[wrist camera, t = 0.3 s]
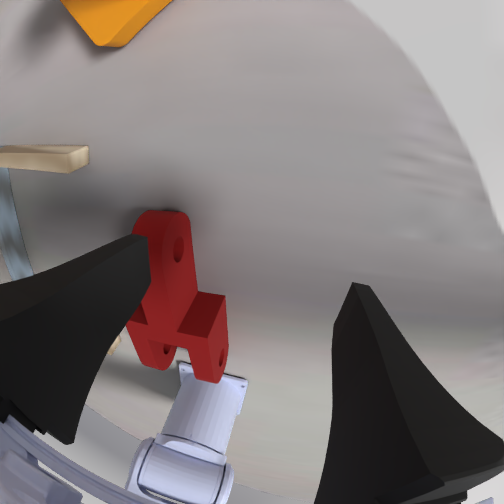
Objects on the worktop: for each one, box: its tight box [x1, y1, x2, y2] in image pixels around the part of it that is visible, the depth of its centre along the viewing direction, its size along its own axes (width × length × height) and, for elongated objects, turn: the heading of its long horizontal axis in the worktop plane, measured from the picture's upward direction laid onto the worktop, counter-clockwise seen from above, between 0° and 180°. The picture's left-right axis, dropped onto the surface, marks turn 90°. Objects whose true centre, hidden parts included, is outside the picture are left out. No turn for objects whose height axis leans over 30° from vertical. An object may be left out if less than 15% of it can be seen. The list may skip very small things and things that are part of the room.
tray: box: [0, 145, 121, 355], centre depth 24 cm, size 23×16×3 cm
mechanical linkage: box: [126, 210, 229, 384], centre depth 22 cm, size 16×7×5 cm, turn 179°
